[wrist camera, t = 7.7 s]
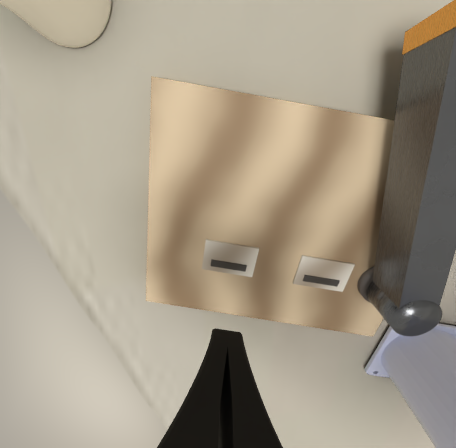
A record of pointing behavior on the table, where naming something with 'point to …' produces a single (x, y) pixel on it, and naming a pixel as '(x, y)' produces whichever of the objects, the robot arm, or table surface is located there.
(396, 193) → the swing bar
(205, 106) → the label board
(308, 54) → the table surface
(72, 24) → the beer glass
